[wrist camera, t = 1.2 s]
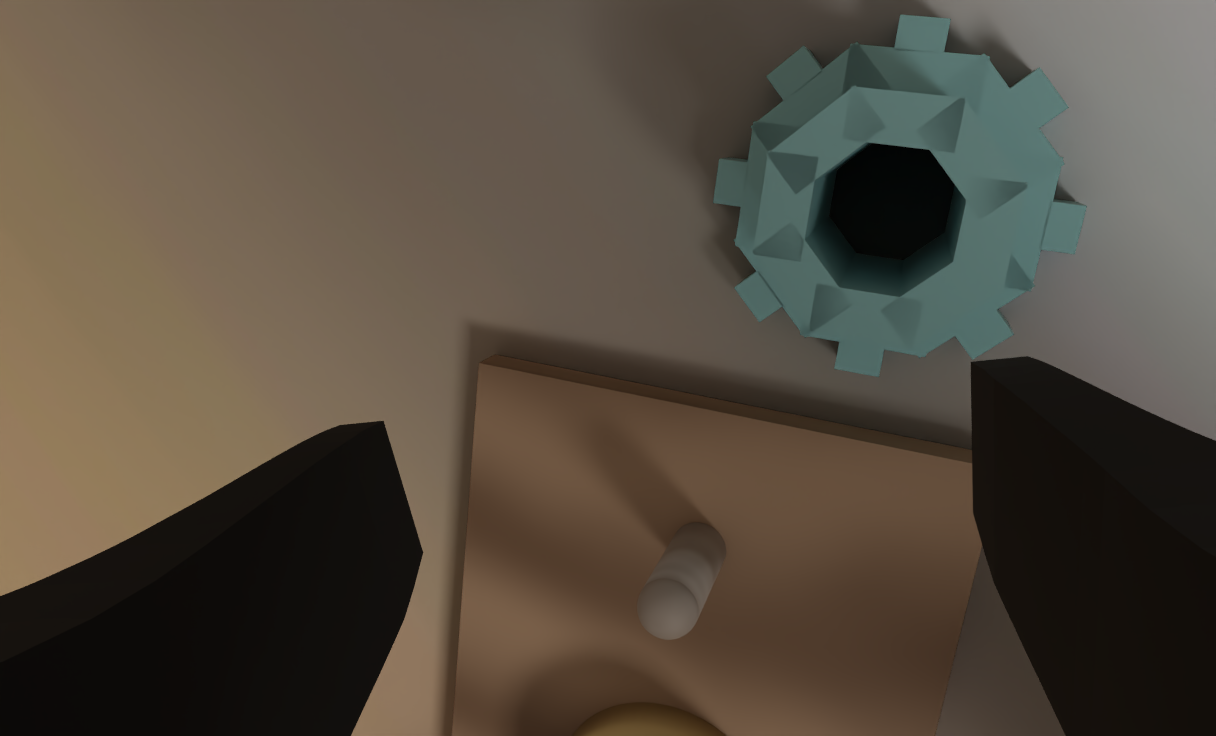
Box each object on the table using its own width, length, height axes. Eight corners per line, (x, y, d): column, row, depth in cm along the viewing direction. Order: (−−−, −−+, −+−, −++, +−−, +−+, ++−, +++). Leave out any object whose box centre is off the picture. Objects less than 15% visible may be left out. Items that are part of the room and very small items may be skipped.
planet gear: (1118, 39, 19) (1186, 8, 14) (1029, 391, 21) (1063, 467, 16) (750, 8, 21) (701, -28, 16) (703, 332, 23) (648, 384, 18)
